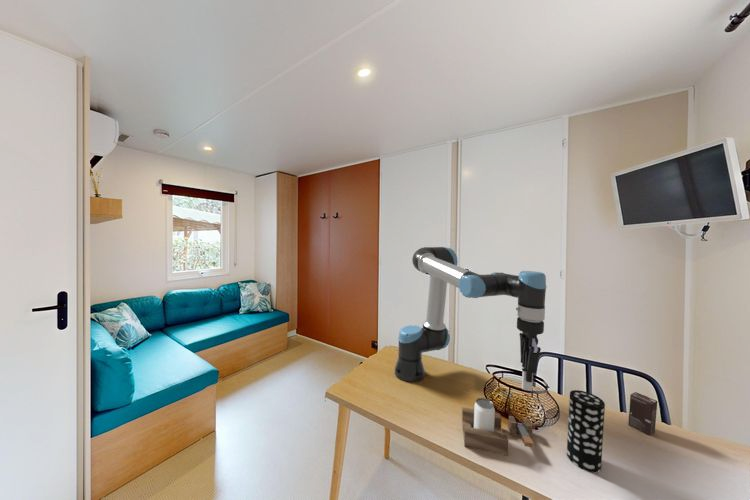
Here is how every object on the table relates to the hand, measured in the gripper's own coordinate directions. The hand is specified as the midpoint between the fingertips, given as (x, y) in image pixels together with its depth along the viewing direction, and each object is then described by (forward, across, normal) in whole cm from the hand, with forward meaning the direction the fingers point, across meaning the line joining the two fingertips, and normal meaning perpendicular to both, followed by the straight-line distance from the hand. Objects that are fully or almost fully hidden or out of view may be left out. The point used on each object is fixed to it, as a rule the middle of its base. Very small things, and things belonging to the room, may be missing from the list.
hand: (527, 389), depth 84 cm
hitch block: (+19, -1, -8) cm, 21 cm away
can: (+20, 0, -13) cm, 23 cm away
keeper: (+17, -1, 0) cm, 17 cm away
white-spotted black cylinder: (+20, +1, +16) cm, 25 cm away
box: (+20, -21, +44) cm, 53 cm away
